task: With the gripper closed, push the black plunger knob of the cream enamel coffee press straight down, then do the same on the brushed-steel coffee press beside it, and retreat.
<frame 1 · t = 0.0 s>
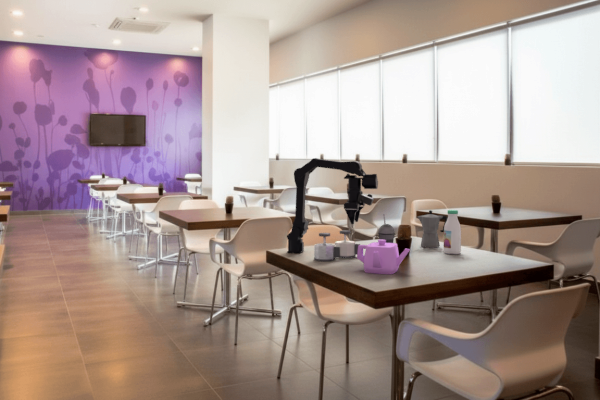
hand: (354, 223, 261), 15 cm above the table, tool pointing down, fingers open, 9 cm apart
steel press: (324, 259, 250), on the table
milk bottle: (452, 253, 265), on the table
coffeepot: (432, 246, 284), on the table
teakettle: (382, 271, 226), on the table
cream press: (345, 256, 258), on the table
beverage cup: (386, 260, 250), on the table
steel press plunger: (324, 240, 250), point 8 cm above the table, slide at 0.0 cm
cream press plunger: (345, 237, 257), point 8 cm above the table, slide at 0.0 cm
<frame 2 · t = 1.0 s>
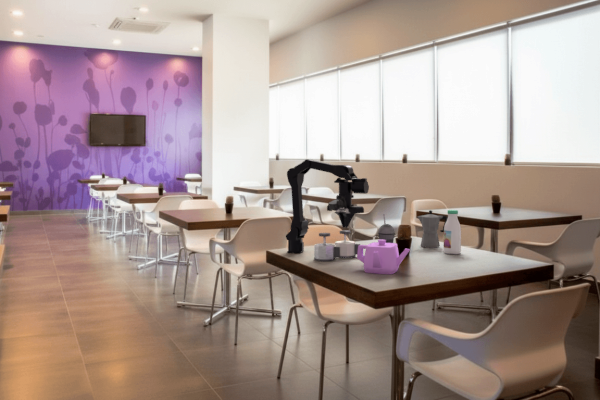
hand: (345, 227, 257), 13 cm above the table, tool pointing down, fingers closed
nothing on the table moved.
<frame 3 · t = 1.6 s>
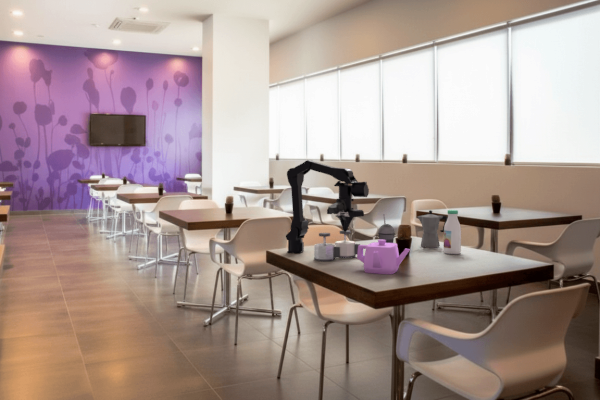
hand: (345, 231, 257), 11 cm above the table, tool pointing down, fingers closed, pressing on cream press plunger
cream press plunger: (345, 237, 257), point 8 cm above the table, slide at 0.0 cm, touching gripper
everything else where it was.
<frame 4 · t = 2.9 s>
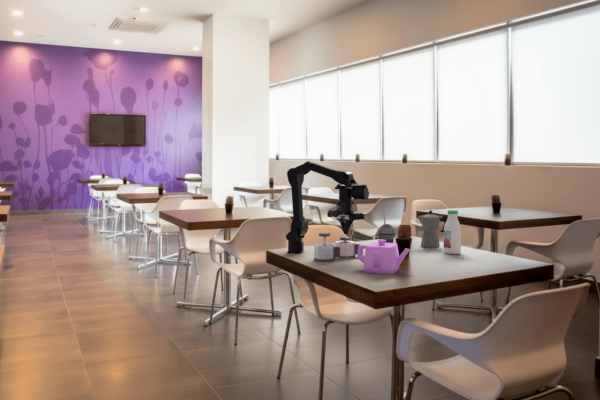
hand: (345, 234, 257), 10 cm above the table, tool pointing down, fingers closed
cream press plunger: (345, 244, 258), point 5 cm above the table, slide at 3.0 cm
everything else where it was.
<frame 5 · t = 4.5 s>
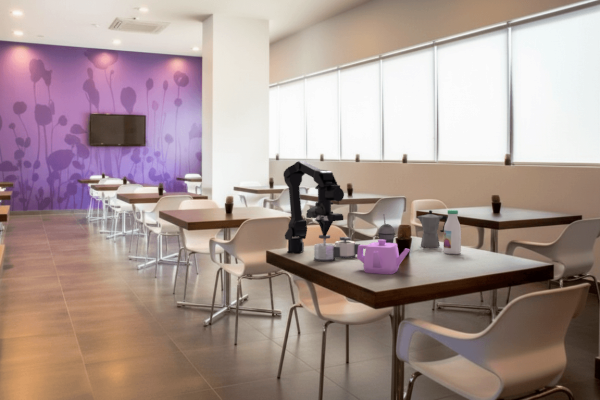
hand: (324, 235, 250), 11 cm above the table, tool pointing down, fingers closed, pressing on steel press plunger
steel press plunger: (324, 242, 250), point 8 cm above the table, slide at 0.9 cm, touching gripper
everything else where it was.
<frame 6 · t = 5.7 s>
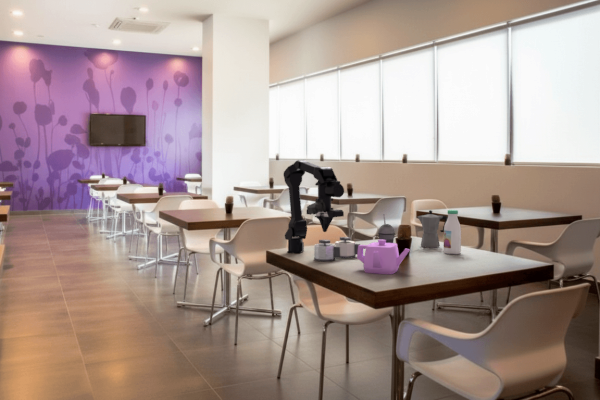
hand: (324, 231, 249), 12 cm above the table, tool pointing down, fingers closed
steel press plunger: (324, 247, 250), point 5 cm above the table, slide at 3.0 cm
everything else where it was.
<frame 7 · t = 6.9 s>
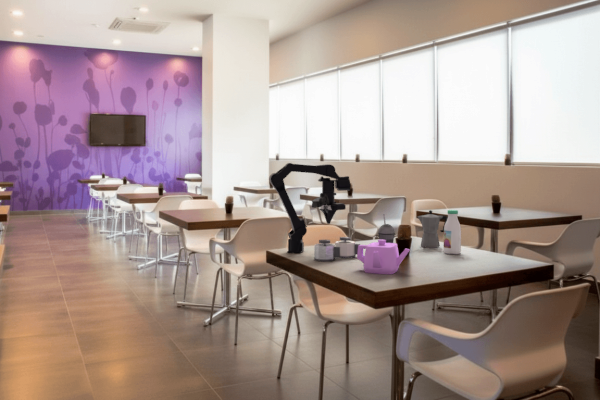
hand: (328, 223, 272), 13 cm above the table, tool pointing down, fingers closed
nothing on the table moved.
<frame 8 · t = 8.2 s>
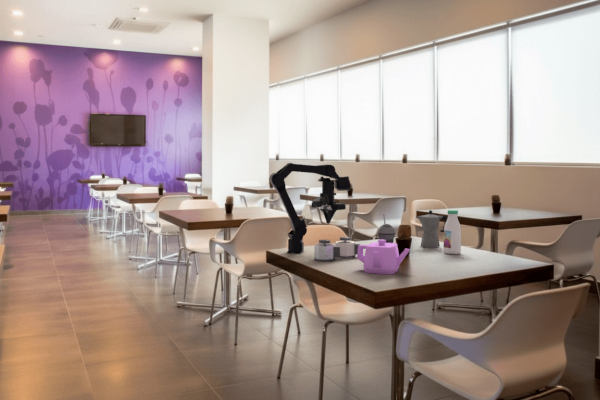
hand: (328, 223, 273), 13 cm above the table, tool pointing down, fingers closed
nothing on the table moved.
at the end: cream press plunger slide at 3.0 cm; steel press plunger slide at 3.0 cm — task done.
